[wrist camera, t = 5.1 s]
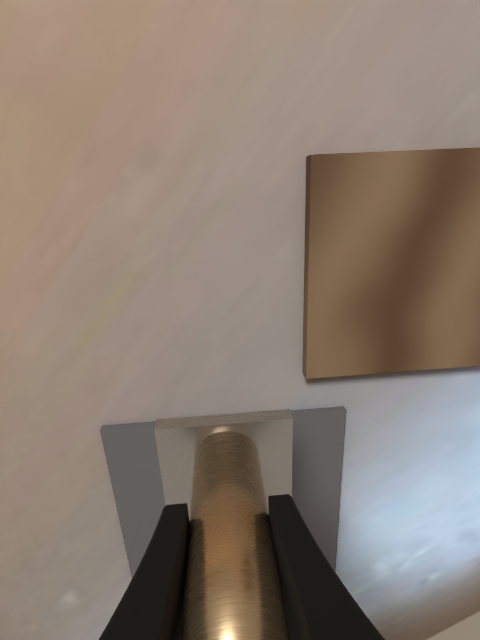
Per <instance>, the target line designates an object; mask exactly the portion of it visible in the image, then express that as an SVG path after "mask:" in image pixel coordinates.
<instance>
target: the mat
mask: <svg viewBox="0 0 480 640" xmlns="http://www.w3.org/2000/svg"><path fill="white" fill-rule="evenodd" d="M290 412H291V415H292V418H293V442H292V497H293V500H294V502H295V505H296V507H297V509H298V511H299V513H300V515H301V517H302V518H303V520H304V522H305V524H306V526H307V528H308V529H309V531H310V533H311V535H312V536H313V538H314V540H315V541H316V543H317V545H318V546H319V548H320V550H321V551H322V553H323V554H324V556H325V557H326V559H327V561H328V562H329V564H330V565H331V567H332V568H333V570H334V571H335V568H336V553H337V538H338V524H339V509H340V494H341V480H342V465H343V451H344V436H345V421H346V409H345V408H344V407H332V408H320V409H307V410H295V411H290ZM155 425H156V422H145V423H133V424H121V425H108V426H102V428H101V430H100V432H101V437H102V442H103V446H104V451H105V455H106V460H107V465H108V469H109V474H110V478H111V483H112V488H113V492H114V497H115V501H116V506H117V511H118V515H119V520H120V525H121V529H122V534H123V538H124V543H125V548H126V552H127V557H128V561H129V566H130V571H131V575H132V578H133V576H134V574H135V572H136V570H137V568H138V566H139V564H140V562H141V560H142V558H143V556H144V554H145V552H146V549H147V547H148V545H149V543H150V540H151V538H152V536H153V534H154V531H155V529H156V526H157V524H158V521H159V519H160V516H161V513H162V510H163V508H164V507H165V506H166V504H165V498H164V491H163V484H162V478H161V471H160V464H159V458H158V451H157V444H156V438H155V431H154V429H155Z"/></svg>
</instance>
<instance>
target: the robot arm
mask: <svg viewBox="0 0 480 640" xmlns="http://www.w3.org/2000/svg"><path fill="white" fill-rule="evenodd" d="M268 508H269V520H270V526H271V532H272V538H273V544H274V549H275V554H276V560H277V566H278V571H279V577H280V583H281V589H282V595H283V600H284V606H285V612H286V618H287V624H288V630H289V635H290V640H385V639H384V638H383V637H382V636H381V634H380V633H379V632H378V630H377V629H376V628H375V627H374V625H373V624H372V623H371V622H370V620H369V619H368V618H367V616H366V615H365V614H364V612H363V611H362V610H361V608H360V607H359V606H358V604H357V603H356V602H355V600H354V599H353V597H352V596H351V595H350V593H349V592H348V590H347V589H346V587H345V586H344V585H343V583H342V582H341V580H340V579H339V577H338V576H337V574H336V573H335V571H334V570H333V568H332V567H331V565H330V564H329V562H328V561H327V559H326V557H325V556H324V554H323V553H322V551H321V550H320V548H319V546H318V545H317V543H316V541H315V540H314V538H313V536H312V535H311V533H310V531H309V529H308V528H307V526H306V524H305V522H304V520H303V518H302V517H301V515H300V513H299V511H298V509H297V507H296V505H295V502H294V500H293V498H292V496H290V495H289V494H283V495H272V496H268ZM189 524H190V522H189V513H188V505H187V503H182V504H171V505H166V506H165V507H164V508H163V510H162V513H161V516H160V519H159V521H158V524H157V526H156V529H155V531H154V534H153V536H152V538H151V540H150V543H149V545H148V547H147V549H146V552H145V554H144V556H143V558H142V560H141V562H140V564H139V566H138V568H137V570H136V572H135V574H134V576H133V578H132V580H131V582H130V584H129V586H128V588H127V590H126V592H125V594H124V596H123V597H122V599H121V601H120V603H119V605H118V607H117V608H116V610H115V612H114V614H113V616H112V618H111V619H110V621H109V623H108V625H107V626H106V628H105V630H104V632H103V633H102V635H101V637H100V638H99V640H181V628H182V615H183V602H184V588H185V575H186V562H187V551H188V537H189Z"/></svg>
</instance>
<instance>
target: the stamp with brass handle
mask: <svg viewBox="0 0 480 640" xmlns="http://www.w3.org/2000/svg"><path fill="white" fill-rule="evenodd" d="M154 431H155V438H156V444H157V451H158V458H159V464H160V471H161V478H162V484H163V491H164V498H165V504H166V505H171V504H182V503H187V505H188V513H189V522H190V524H189V537H188V551H187V562H186V575H185V588H184V602H183V615H182V628H181V640H290V635H289V630H288V624H287V618H286V612H285V606H284V600H283V595H282V589H281V583H280V577H279V571H278V566H277V560H276V554H275V549H274V544H273V538H272V532H271V526H270V520H269V508H268V496H272V495H283V494H289V495H290V496H292V442H293V418H292V415H291V412H290V410H289V409H286V410H274V411H261V412H248V413H235V414H222V415H209V416H196V417H183V418H170V419H157V421H156V425H155V429H154Z"/></svg>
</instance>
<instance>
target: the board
mask: <svg viewBox="0 0 480 640" xmlns="http://www.w3.org/2000/svg"><path fill="white" fill-rule="evenodd" d="M471 366H480V148H460V149H436V150H412V151H389V152H365V153H341V154H317V155H309V156H307V157H306V211H305V267H304V323H303V374H304V376H305V378H306V379H312V378H326V377H339V376H352V375H365V374H378V373H392V372H405V371H418V370H431V369H444V368H458V367H471Z"/></svg>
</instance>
